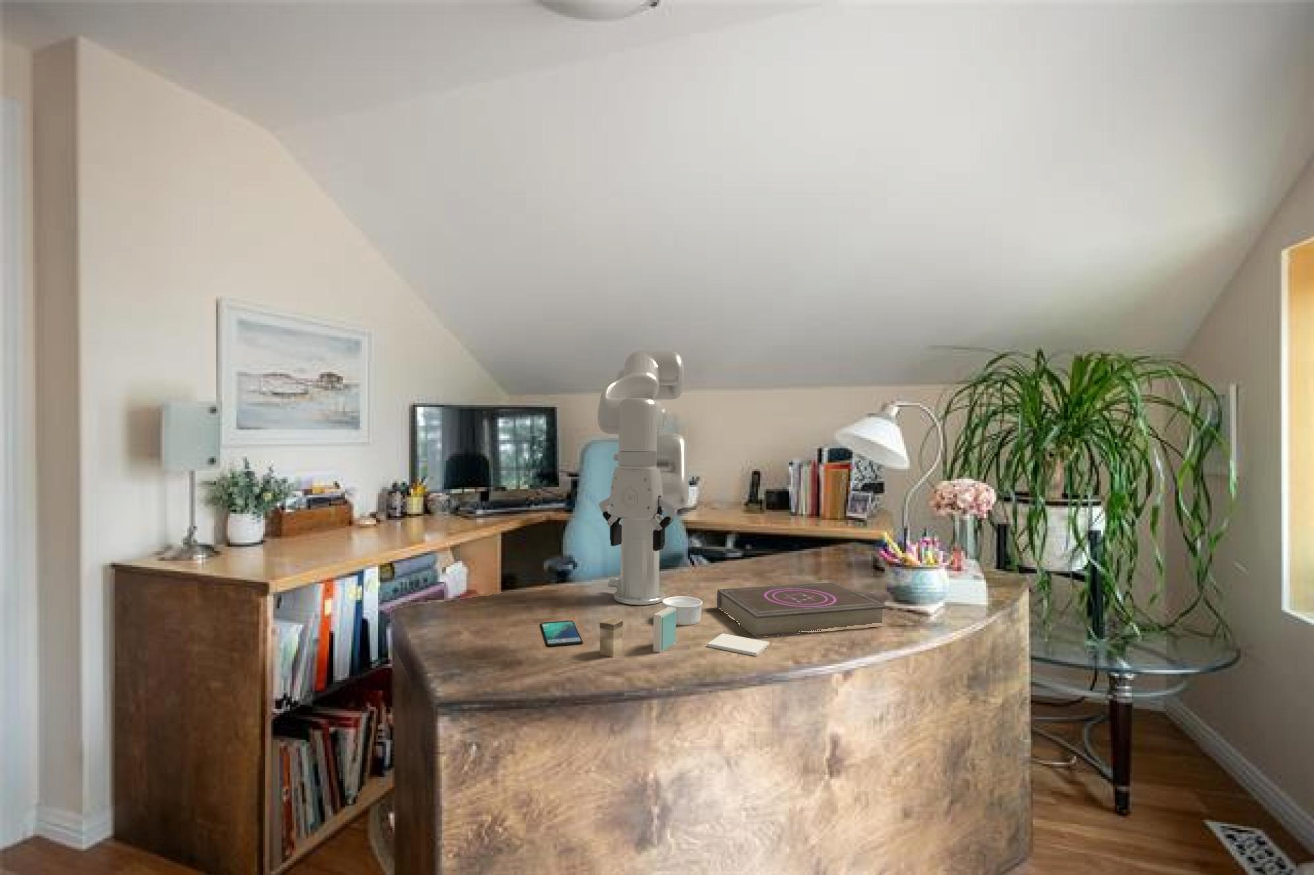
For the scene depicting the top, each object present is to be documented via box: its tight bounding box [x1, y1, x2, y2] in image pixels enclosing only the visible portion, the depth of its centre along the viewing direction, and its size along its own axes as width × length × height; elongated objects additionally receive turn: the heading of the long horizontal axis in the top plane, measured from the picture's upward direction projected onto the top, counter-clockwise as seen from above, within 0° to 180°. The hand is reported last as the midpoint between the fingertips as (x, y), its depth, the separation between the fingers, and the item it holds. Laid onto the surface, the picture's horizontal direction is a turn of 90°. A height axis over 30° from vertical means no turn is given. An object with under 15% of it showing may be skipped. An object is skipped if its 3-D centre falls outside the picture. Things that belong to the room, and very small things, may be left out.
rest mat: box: [707, 633, 770, 657], centre depth 123 cm, size 10×7×1 cm
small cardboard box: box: [599, 617, 624, 658], centre depth 118 cm, size 3×3×6 cm
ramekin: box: [661, 595, 704, 626], centre depth 139 cm, size 9×9×4 cm
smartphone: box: [540, 620, 584, 648], centre depth 129 cm, size 7×1×15 cm
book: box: [716, 581, 889, 639], centre depth 142 cm, size 30×22×5 cm
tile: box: [652, 607, 677, 653], centre depth 122 cm, size 2×6×7 cm, turn 150°
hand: (636, 547), depth 125 cm, fingers open, 9 cm apart
